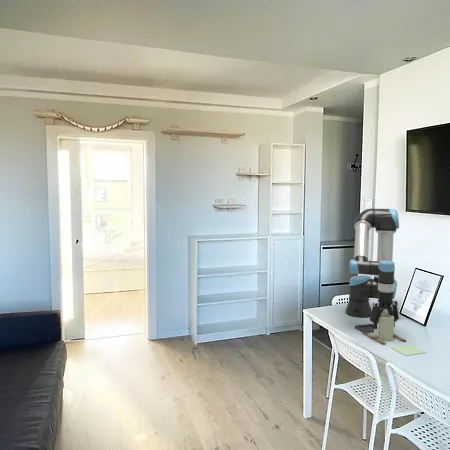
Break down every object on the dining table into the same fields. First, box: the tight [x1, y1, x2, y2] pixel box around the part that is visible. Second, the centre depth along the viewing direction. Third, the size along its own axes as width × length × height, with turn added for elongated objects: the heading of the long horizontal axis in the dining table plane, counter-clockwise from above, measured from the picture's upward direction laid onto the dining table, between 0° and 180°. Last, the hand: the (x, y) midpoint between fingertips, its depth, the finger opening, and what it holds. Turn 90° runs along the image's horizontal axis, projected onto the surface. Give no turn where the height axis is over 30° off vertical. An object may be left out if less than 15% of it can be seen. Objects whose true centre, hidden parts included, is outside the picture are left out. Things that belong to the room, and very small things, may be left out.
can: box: [373, 312, 395, 342], centre depth 204 cm, size 9×9×12 cm
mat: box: [390, 344, 428, 357], centre depth 189 cm, size 10×12×1 cm
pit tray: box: [354, 323, 374, 334], centre depth 217 cm, size 8×11×1 cm
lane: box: [361, 332, 407, 346], centre depth 205 cm, size 16×14×1 cm
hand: (383, 333), depth 205 cm, fingers closed on can, 9 cm apart
